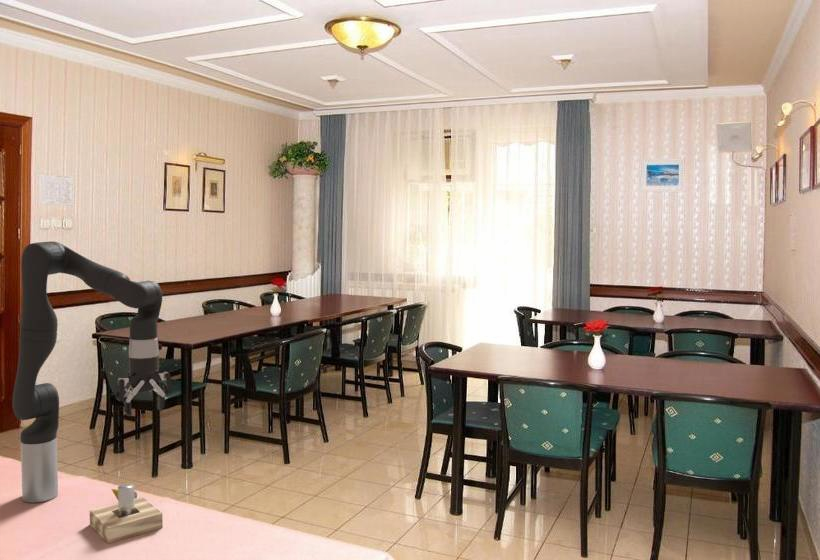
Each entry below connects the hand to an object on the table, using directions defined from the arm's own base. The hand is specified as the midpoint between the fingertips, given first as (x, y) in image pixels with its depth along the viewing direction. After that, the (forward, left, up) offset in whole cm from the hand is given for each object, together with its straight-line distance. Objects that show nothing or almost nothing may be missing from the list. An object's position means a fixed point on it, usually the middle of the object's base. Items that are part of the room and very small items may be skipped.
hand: (144, 412), depth 187 cm
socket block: (+4, -7, -29) cm, 30 cm away
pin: (+4, -7, -28) cm, 29 cm away
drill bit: (-7, -3, -29) cm, 30 cm away
